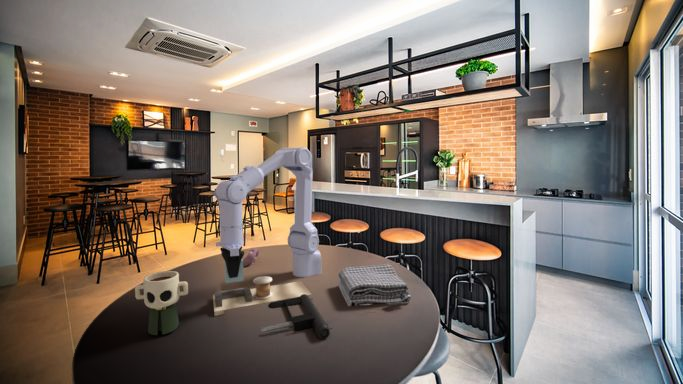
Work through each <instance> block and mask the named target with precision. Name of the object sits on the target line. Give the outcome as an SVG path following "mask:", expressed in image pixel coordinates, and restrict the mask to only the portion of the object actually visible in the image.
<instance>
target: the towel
mask: <svg viewBox="0 0 683 384" xmlns="http://www.w3.org/2000/svg"><path fill="white" fill-rule="evenodd" d="M338 278H339V282H338V288H339V290H340V293H341V295H342V297H343V299H344V300H345V302H346V304H347V306H348V307H351V306H352V304H353V305H354V306H358V305H359V306H371V305H373V304H386V305H387V306H393V305H394V306H395V305H404V304H405V305H406V304H410V303H409V302H410V301H411V298H412V296H411V295H410V294H409V286H408V284H407V283H406V282H405V281H404V280H403V279H402V278H401V277H400V276H399V275H398V274H397V272H396V270H395V268H394V267H393V266H392V264H391V263H386V264H378V265H364V266H363V265H361V266H351V267H350V266H349V267H344V268H343V269H342V270H341V271H339V273H338Z"/></svg>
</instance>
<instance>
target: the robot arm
mask: <svg viewBox="0 0 683 384" xmlns="http://www.w3.org/2000/svg"><path fill="white" fill-rule="evenodd" d="M281 167H282V168H284V169H286V170H288V171H290V172H291V173H292V174H293V175H294V176H295V210H294V211H295V214H294V217H295V218H294V224H292V225H291V226H290V227H289V234H288V236H287V245H288V247H289V248H290V250H291V252H292V275H293V276H294V277H297V278H309V277H312V276H317V275H318V276H319V275H322V255H321V251H320V250H319V249H318V247H319V243H320V239H319V235H318V229H317V228H316V226H315V225H314V224H313V223H312V209H313V208H312V207H313V175H314V174H313V173H314V171H313V154H312V152H311V151H310V150H309V149H308V148H307V147H305V146H300V147H282V148H280V149H279V150H276V151H275V153H273V154H272V155H271V156H270V157H268V158H267V159H266V160H264V161H263V162H261V163H260V164H259V165H257V166H254V165H251V166H249V165H248V166H247V165H246V166H244V167H243V170H242V171H241V172H239V173H237V174H236V175H231V176H230V179H229V180H222V181H220V182H219V183H218V184H217V185H216V188H215V190H214V191H213V194H214V197H215V199H216V200H217V202H218V207H219V211H218V212H219V233H220V234H219V235H220V236H219V237H220V239H219V240H220V241H217V242H215V246H216V247H220V251H221V253H220V254H221V257H222V259H223V260H224V263H225V262H226V266H227V271H228V275H229V278H235V277H238V273H239V267H240V263H241V260H242V259H244V258H243V257H244V256H245V251H244V250H242V249H243V245H244V243H245V241H244V233H243V230H244V229H243V223H244V222H243V202H245V200H246V198H247V195H248V194H249V193H250V192H251V191H252V190H254V189H255V188H257V187H258V186H260V185H261V184H263V182H264V177H266V176H268V175H269V174H271V173H272V172H274V171H276V170H277V169H279V168H281Z"/></svg>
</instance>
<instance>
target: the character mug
mask: <svg viewBox="0 0 683 384" xmlns="http://www.w3.org/2000/svg"><path fill="white" fill-rule="evenodd" d="M181 286H182V288H183V291H182V290H181V291H180V287H181ZM141 290H143V294H141ZM134 294H135V298H136V300H144V305H145V306H146V307H148V308H150V309H149V317H148V325H147V326H148V327H147V328H148V329H147V333H148V334H149V335H151V336H158V334H159V333H158V331H159V332H161V335H166V334H169V333H172V332H173V331H175V330H177V328H178V327H179V326H180V323H179V322H180V321H179V315H178V311H177V306H176V305H177V304H176V303H177V302H178V301H179V299H180V296H187V295H188V294H189V283H188V281H180V273H179V272H178V271H173V270H163V271H158V272H153V273H150V274H148V275H146V276H144V277H143V282H142V284H137V285H135V287H134Z"/></svg>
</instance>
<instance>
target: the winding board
mask: <svg viewBox="0 0 683 384" xmlns="http://www.w3.org/2000/svg"><path fill="white" fill-rule="evenodd" d="M252 282H253V284H255V288H254V287H253V288H250V286H246V287H240V288H239V287H238V288H234V289H233V288H232V289H228V290H221V291H220V290H219V291H214V294H212V305H213V312H214V313H213V314H214V317H217V316H222V315H226V314H227V313H226V311H227V310H232V309H236V308H237V309H238V308H243V307H248V306H254V305H255V306H256V305H260V304H265V303H271V302H276V301H281V300H286V299H291V298H296V297H300V296H301V295H303V294H306V295H308V296H311V295H313V294H312V292H310V290H309V289H308V287H306V286H305V285H304V283H303V282H302V281H300V280H299V281H293V282H286V283H280V284H274V285H271V283H272V282H273V277H271V276H268V275H263V276H258V277H255V278H254V279H253V281H252Z"/></svg>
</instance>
